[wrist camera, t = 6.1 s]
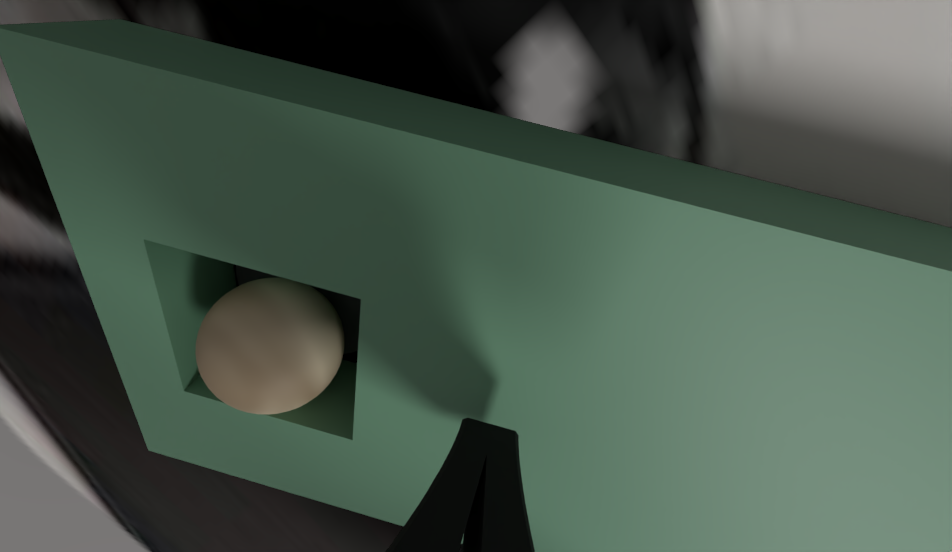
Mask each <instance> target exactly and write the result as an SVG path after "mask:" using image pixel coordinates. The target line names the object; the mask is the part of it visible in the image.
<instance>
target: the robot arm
mask: <svg viewBox="0 0 952 552" xmlns="http://www.w3.org/2000/svg"><path fill="white" fill-rule="evenodd" d="M463 534H464V537H463ZM462 538H463V544H462V552H535V549H534V545H533V540H532V535H531V530H530V525H529V520H528V515H527V509H526V504H525V498H524V491H523V484H522V477H521V468H520V458H519V435H518V434H517V432H516V431H514V430H510V429H507V428H503V427H500V426H496V425H493V424H489V423H486V422H482V421H478V420H475V419H471V418H465V419H462V422H461V426H460V429H459V431H458V434H457V436H456V439H455V441H454V443H453V445H452V448H451V450H450V452H449V454H448V455H447V457H446V459H445V461H444V463H443V465H442V467H441V469H440V470H439V472H438V474H437V475H436V477H435V479H434V480H433V482H432V484H431V485H430V487H429V489H428V491H427V492H426V494H425V495H424V497H423V499H422V500H421V502H420V503H419V505H418V506H417V508H416V509H415V511H414V512H413V514H412V515H411V517H410V518H409V519H408V521H407V522H406V524H405V525H404V527H403V528H402V530H401V531H400V533H399V534H398V535H397V537H396V538H395V540H394V541H393V542H392V544H391V545H390V546H389V548H388V549H387V551H386V552H459V550H460V546H461V542H462Z"/></svg>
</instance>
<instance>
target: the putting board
mask: <svg viewBox="0 0 952 552" xmlns="http://www.w3.org/2000/svg"><path fill="white" fill-rule="evenodd" d="M0 56H1V59H2V61H3V64H4V67H5V69H6V72H7V75H8V77H9V80H10V83H11V85H12V88H13V91H14V93H15V96H16V99H17V101H18V104H19V107H20V109H21V112H22V115H23V117H24V120H25V123H26V125H27V128H28V131H29V133H30V136H31V139H32V141H33V144H34V147H35V149H36V152H37V155H38V157H39V160H40V163H41V165H42V168H43V171H44V173H45V176H46V178H47V181H48V184H49V186H50V189H51V192H52V194H53V197H54V200H55V202H56V205H57V208H58V210H59V213H60V216H61V218H62V221H63V224H64V226H65V229H66V232H67V234H68V237H69V240H70V242H71V245H72V248H73V250H74V253H75V256H76V258H77V261H78V264H79V266H80V269H81V272H82V274H83V277H84V280H85V282H86V285H87V288H88V290H89V293H90V296H91V298H92V301H93V304H94V306H95V309H96V312H97V314H98V317H99V320H100V322H101V325H102V328H103V330H104V333H105V336H106V338H107V341H108V344H109V346H110V349H111V352H112V354H113V357H114V360H115V362H116V365H117V368H118V370H119V373H120V376H121V378H122V381H123V384H124V386H125V389H126V392H127V394H128V397H129V400H130V402H131V405H132V408H133V410H134V413H135V416H136V418H137V421H138V424H139V426H140V429H141V432H142V434H143V437H144V440H145V442H146V445H147V448H148V450H149V451H153V452H156V453H159V454H163V455H166V456H169V457H173V458H176V459H180V460H183V461H186V462H190V463H193V464H196V465H200V466H203V467H206V468H210V469H213V470H216V471H220V472H223V473H226V474H230V475H233V476H236V477H240V478H243V479H246V480H250V481H253V482H256V483H260V484H263V485H266V486H270V487H273V488H277V489H280V490H283V491H287V492H290V493H293V494H297V495H300V496H303V497H307V498H310V499H313V500H317V501H320V502H323V503H327V504H330V505H333V506H337V507H340V508H343V509H347V510H350V511H353V512H357V513H360V514H363V515H367V516H370V517H374V518H377V519H380V520H384V521H387V522H390V523H394V524H397V525H400V526H404V525H405V524H406V522H407V521H408V519H409V518H410V517H411V515H412V514H413V512H414V511H415V509H416V508H417V506H418V505H419V503H420V502H421V500H422V499H423V497H424V495H425V494H426V492H427V491H428V489H429V487H430V485H431V484H432V482H433V480H434V479H435V477H436V475H437V474H438V472H439V470H440V469H441V467H442V465H443V463H444V461H445V459H446V457H447V455H448V454H449V452H450V450H451V448H452V445H453V443H454V441H455V439H456V436H457V434H458V431H459V429H460V426H461V422H462V419H465V418H471V419H475V420H478V421H482V422H486V423H489V424H493V425H496V426H500V427H503V428H507V429H510V430H514V431H516V432H517V434H518V435H519V458H520V468H521V477H522V484H523V491H524V498H525V504H526V509H527V515H528V520H529V525H530V530H531V535H532V540H533V545H534V549H535V552H950V551H952V228H949V227H946V226H942V225H938V224H934V223H930V222H926V221H922V220H918V219H914V218H910V217H906V216H902V215H898V214H894V213H890V212H886V211H882V210H878V209H874V208H870V207H866V206H862V205H858V204H854V203H850V202H846V201H842V200H838V199H834V198H830V197H826V196H822V195H818V194H814V193H810V192H806V191H802V190H798V189H794V188H790V187H786V186H782V185H778V184H774V183H770V182H766V181H762V180H758V179H754V178H751V177H747V176H743V175H739V174H735V173H731V172H727V171H723V170H719V169H715V168H711V167H707V166H703V165H699V164H695V163H691V162H687V161H683V160H679V159H675V158H671V157H667V156H663V155H659V154H655V153H651V152H647V151H643V150H639V149H635V148H631V147H627V146H623V145H619V144H615V143H611V142H607V141H603V140H599V139H595V138H591V137H587V136H583V135H579V134H575V133H571V132H567V131H563V130H559V129H556V128H552V127H548V126H544V125H540V124H536V123H532V122H528V121H524V120H520V119H516V118H512V117H508V116H504V115H500V114H496V113H492V112H488V111H484V110H480V109H476V108H472V107H468V106H464V105H460V104H456V103H452V102H448V101H444V100H440V99H436V98H432V97H428V96H424V95H420V94H416V93H412V92H408V91H404V90H400V89H396V88H392V87H388V86H384V85H380V84H376V83H372V82H368V81H364V80H360V79H357V78H353V77H349V76H345V75H341V74H337V73H333V72H329V71H325V70H321V69H317V68H313V67H309V66H305V65H301V64H297V63H293V62H289V61H285V60H281V59H277V58H273V57H269V56H265V55H261V54H257V53H253V52H249V51H245V50H241V49H237V48H233V47H229V46H225V45H221V44H217V43H213V42H209V41H205V40H201V39H197V38H193V37H189V36H185V35H181V34H177V33H173V32H169V31H165V30H162V29H158V28H154V27H150V26H146V25H142V24H138V23H134V22H130V21H126V20H122V19H115V20H94V21H72V22H50V23H29V24H7V25H0ZM234 264H235V265H236V276H237V280H238V284H239V286H240V285H242V284H245V283H247V282H250V281H254V280H257V279H264V278H286V279H290V280H293V281H297V282H300V283H304V284H307V285H309V286H311V287H313V288H314V289H316V290H317V291H319V292H320V293H322V294H323V295H324V296H325V297H326V298H327V299H328V300H329V301H330V303H331V304H332V305H333V307H334V308H335V310H336V311H337V313H338V315H339V317H340V319H341V322H342V326H343V331H344V352H343V354H347V353H352V352H355V351H358V357H357V363H354V362H350V361H346V360H343V359H342V361H341V364H340V367H339V369H338V371H337V373H336V375H335V376H334V378H333V379H332V381H331V382H330V384H329V385H328V386H327V387H326V388H325V389H324V390H323V391H322V392H321V393H320V394H319V395H318V396H317V397H315V398H314V399H312V400H311V401H309V402H308V403H306V404H304V405H302V406H301V407H299V408H296V409H293V410H291V411H287V412H283V413H278V414H269V415H267V414H253V413H247V412H244V411H241V410H237V409H235V408H233V407H231V406H229V405H227V404H225V403H224V402H223V401H221V400H220V399H218V398H217V397H216V396H215V395H214V394H213V393H212V392H211V391H210V390H209V388H208V387H207V386H206V384H205V382H204V381H203V379H202V377H201V375H200V372H199V369H198V366H197V362H196V354H195V352H196V340H197V335H198V331H199V329H200V326H201V323H202V321H203V319H204V318H205V316H206V314H207V313H208V311H209V310H210V309H211V307H212V306H213V305H214V304H215V303H216V302H217V301H218V300H219V299H220V298H221V297H222V296H224V295H225V294H226V293H227V292H229V291H231V290H232V289H234V288H236V287H237V285H236V277H235V270H234ZM463 537H464V534H463ZM461 544H463V538H462V542H461Z"/></svg>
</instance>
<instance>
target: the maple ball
mask: <svg viewBox="0 0 952 552" xmlns="http://www.w3.org/2000/svg"><path fill="white" fill-rule="evenodd" d="M343 352H344V331H343V326H342V322H341V319H340V317H339V315H338V313H337V311H336V310H335V308H334V307H333V305H332V304H331V303H330V301H329V300H328V299H327V298H326V297H325V296H324V295H323V294H322V293H320V292H319V291H317V290H316V289H314V288H313V287H311V286H309V285H307V284H304V283H300V282H297V281H293V280H290V279H286V278H264V279H257V280H254V281H250V282H247V283H245V284H242V285H240V286H238V287H236V288H234V289H232V290H231V291H229V292H227V293H226V294H225V295H224V296H222V297H221V298H220V299H219V300H218V301H217V302H216V303H215V304H214V305H213V306H212V307H211V309H210V310H209V311H208V313H207V314H206V316H205V318H204V319H203V321H202V323H201V326H200V329H199V331H198V335H197V340H196V352H195V354H196V362H197V366H198V369H199V372H200V375H201V377H202V379H203V381H204V382H205V384H206V386H207V387H208V388H209V390H210V391H211V392H212V393H213V394H214V395H215V396H216V397H217V398H218V399H220V400H221V401H223V402H224V403H225V404H227V405H229V406H231V407H233V408H235V409H237V410H241V411H244V412H247V413H253V414H267V415H269V414H278V413H283V412H287V411H291V410H293V409H296V408H299V407H301V406H302V405H304V404H306V403H308V402H309V401H311V400H312V399H314V398H315V397H317V396H318V395H319V394H320V393H321V392H322V391H323V390H324V389H325V388H326V387H327V386H328V385H329V384H330V382H331V381H332V379H333V378H334V376H335V375H336V373H337V371H338V369H339V367H340V364H341V361H342V358H343Z"/></svg>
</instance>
